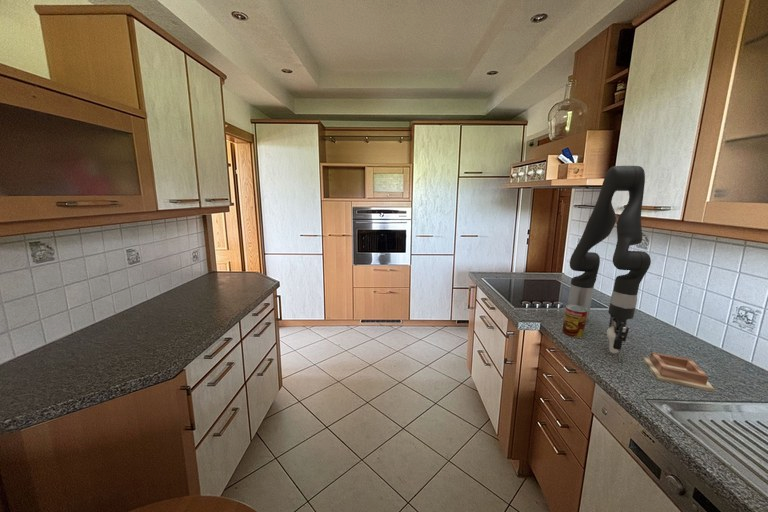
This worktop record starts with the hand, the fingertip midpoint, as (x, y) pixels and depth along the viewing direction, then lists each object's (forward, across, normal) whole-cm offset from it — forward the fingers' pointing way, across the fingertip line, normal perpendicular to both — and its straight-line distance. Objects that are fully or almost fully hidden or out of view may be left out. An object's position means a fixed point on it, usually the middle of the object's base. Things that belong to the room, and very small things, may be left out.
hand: (614, 345), depth 115 cm
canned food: (+4, -12, -12) cm, 17 cm away
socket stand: (+3, +7, +16) cm, 18 cm away
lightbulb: (+4, 0, 0) cm, 4 cm away
